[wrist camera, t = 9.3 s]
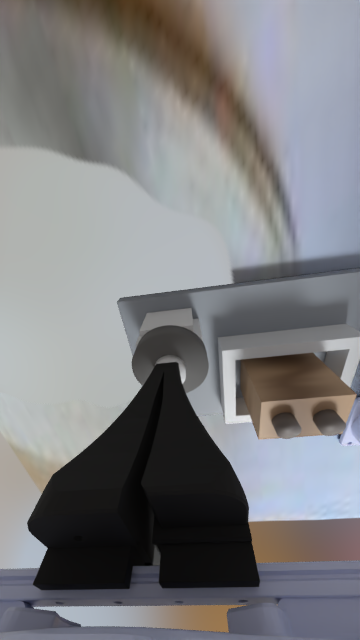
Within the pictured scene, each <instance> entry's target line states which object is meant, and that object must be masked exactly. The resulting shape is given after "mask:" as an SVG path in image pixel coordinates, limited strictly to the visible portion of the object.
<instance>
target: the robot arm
mask: <svg viewBox="0 0 360 640" xmlns="http://www.w3.org/2000/svg"><path fill="white" fill-rule="evenodd" d="M339 443H340V444H341V445H342V446H351V445H360V397H358V398H356V399H355V401H354V404H353V406H352V409H351V412H350V414H349V417H348V420H347V422H346V428H345V430H344V431H343V433H342V434H341V437H340V440H339ZM248 513H249V507H248V502H247V499H246V496H245V493H244V491H243V488H242V486H241V484H240V482H239V480H238V478H237V476H236V474H235V472H234V470H233V468H232V466H231V464H230V462H229V461H228V460H227V458H226V457H225V456H224V455H223V453H222V452H221V451H220V449H219V448H218V447H217V445H216V444H215V443H214V441H213V440H212V438H211V437H210V435H209V434H208V432H207V431H206V429H205V428H204V426H203V425H202V423H201V422H200V420H199V418H198V416H197V415H196V413H195V411H194V409H193V407H192V405H191V403H190V401H189V399H188V397H187V395H186V392H185V390H184V387H183V384H182V381H181V376H180V370H179V363H177V362H170V363H160V364H156V365H155V367H154V368H153V370H152V372H151V374H150V375H149V377H148V378H147V380H146V382H145V383H144V385H143V386H142V388H141V389H140V391H139V392H138V393H137V395H136V396H135V397H134V399H133V400H132V401H131V403H130V404H129V405H128V406H127V408H126V409H125V410H124V411H123V412H122V414H121V415H120V416H119V417H118V418H117V419H116V420H115V421H114V422H113V423H112V424H111V426H110V427H109V428H108V429H107V430H106V431H105V432H104V433H103V434H102V435H100V436H99V437H98V438H97V439H96V440H95V441H94V442H93V443H92V444H91V445H89V446H88V447H87V448H86V449H85V450H84V451H82V452H81V453H80V454H79V455H78V456H76V457H75V458H74V459H73V460H71V461H70V462H69V463H67V464H66V465H65V466H64V467H62V468H61V469H60V470H58V471H57V472H56V473H54V474H53V475H52V477H51V479H50V481H49V482H48V484H47V486H46V487H45V489H44V491H43V493H42V495H41V497H40V499H39V501H38V503H37V505H36V507H35V509H34V511H33V512H32V514H31V516H30V518H29V520H28V523H27V524H28V529H29V531H30V532H31V534H32V535H34V536H35V537H36V538H37V539H38V540H39V541H40V542H42V543H43V544H44V545H45V546H46V547H47V548H48V549H47V552H46V554H45V556H44V559H43V561H42V563H41V566H40V568H30V569H29V568H28V569H0V640H360V561H322V562H285V563H284V562H283V563H282V562H281V563H256V560H255V556H254V551H253V546H252V538H251V533H250V529H249V524H248ZM276 604H278V606H277V605H276ZM157 605H158V606H160V605H247V606H242V607H237V608H231V609H229V610H228V612H227V619H228V628H229V633H226V632H212V631H211V632H210V631H196V630H182V629H181V630H180V629H165V628H146V627H81V625H80V624H77V623H74V622H71V621H68V620H66V619H64V618H62V617H60V616H59V615H58V614H57V613H56V612H55V611H47V610H39V609H34V608H33V607H38V606H40V607H45V606H157Z"/></svg>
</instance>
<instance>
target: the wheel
mask: <svg viewBox="0 0 360 640" xmlns="http://www.w3.org/2000/svg"><path fill="white" fill-rule="evenodd" d="M139 332H140V335H139V337H138V340H137V342H136V344H135V345H136V350H135V353H134V355H133V359H132V369H133V373H134V375H135V377H136V379H137V380H138V381H139V382H140V383H141V384H142V385H144V383H145V382H146V380H147V378H148V377H149V375H150V374H151V372H152V370H153V368H154V367H155V365H156V364H160V363H170V362H177V363H179V370H180V376H181V381H182V384H183V387H184V390H185V392H186V393H188V392H191V391H193V390H194V389H196V388H197V387H199V386H200V385H201V384H202V383H203V381H204V380H205V378H206V376H207V374H208V369H209V363H208V357H207V352H206V348H205V345H204V343H203V340H202V333H201V328H200V322H199V318H198V319H193V317H192V309H191V308H185V309H177V310H168V311H160V312H152V313H147V314H146V317H145V319H144V321H143V324H142V326H141V328H140V331H139Z"/></svg>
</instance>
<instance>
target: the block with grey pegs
mask: <svg viewBox="0 0 360 640" xmlns="http://www.w3.org/2000/svg"><path fill="white" fill-rule="evenodd" d="M240 389H241V392H242V395H243V397H244V400H245V403H246V406H247V409H248V411H249V414H250V417H251V420H252V422H253V425H254V428H255V431H256V433H257V436H258V439H273V438H283V439H290V438H294V437H303V436H318V435H325V436H333V435H337V434H342V433H343V431H344V430H345V428H346V422H347V420H348V417H349V414H350V412H351V409H352V406H353V404H354V401H355V398H356V396H357V394H356V393H355V392H354V391H353V390H352V389H351V388H350V387H349V386H348V385H347V384H345V383H344V382H343V381H342V380H341V379H340V378H339V377H338V376H337V375H336V374H335V373H334V372H333V371H332V370H331V369H330V368H329V367H327V366H326V365H325V364H324V363H323V362H322V361H321V360H320V359H319V358H318V357H317V356H316V355H315V354H314V353H303V354H293V355H283V356H272V357H262V358H252V359H242V360H241V377H240Z"/></svg>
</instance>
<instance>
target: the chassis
mask: <svg viewBox="0 0 360 640" xmlns="http://www.w3.org/2000/svg"><path fill="white" fill-rule="evenodd" d="M117 304H118V307H119V311H120V314H121V317H122V321H123V324H124V327H125V331H126V334H127V338H128V341H129V344H130V348H131V351H132V355H134V353H135V350H136V345H135V344H136V342H137V340H138V337H139V335H140V332H139V331H140V328H141V326H142V324H143V321H144V319H145V317H146V314H147V313H152V312H160V311H168V310H177V309H185V308H191V309H192V317H193V319H198V318H199V322H200V328H201V333H202V340H203V343H204V345H205V348H206V352H207V357H208V363H209V369H208V374H207V376H206V378H205V380H204V381H203V383H202V384H201V385H200V386H199V387H197V388H196V389H194V390H193V391H191V392H188V393H186V395H187V397H188V399H189V401H190V403H191V405H192V407H193V409H194V411H195V413H196V415H197V416H206V415H219V414H223V416H224V420H225V424H231V423H244V422H252V420H251V417H250V414H249V411H248V409H247V406H246V403H245V400H244V397H243V395H242V392H241V389H240V377H241V360H242V359H252V358H262V357H272V356H283V355H293V354H303V353H314V354H315V355H316V356H317V357H318V358H319V359H320V360H321V361H322V362H323V363H324V364H325V365H326V366H327V367H329V368H330V369H331V370H332V371H333V372H334V373H335V374H336V375H337V376H338V377H339V378H340V379H341V380H342V381H343V382H344V383H345V384H347V385H348V386H349V387H350V386H351V383H352V381H353V378H354V375H355V372H356V369H357V366H358V363H359V360H360V268H355V269H347V270H339V271H331V272H323V273H315V274H307V275H299V276H291V277H283V278H275V279H267V280H259V281H251V282H243V283H235V284H227V285H219V286H211V287H203V288H196V289H188V290H180V291H172V292H164V293H156V294H148V295H140V296H132V297H124V298H120V299H119V300H118V301H117ZM141 385H142V384H141ZM142 386H143V385H142Z"/></svg>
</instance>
